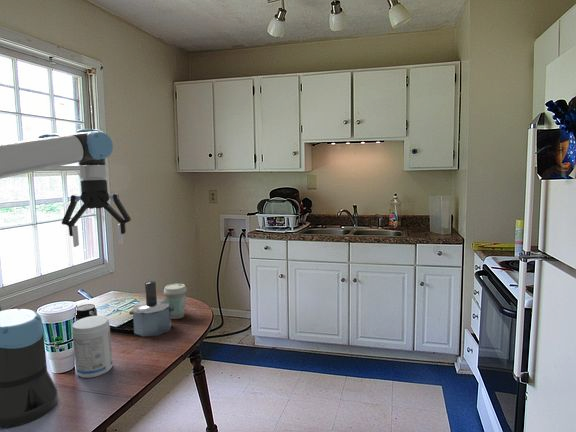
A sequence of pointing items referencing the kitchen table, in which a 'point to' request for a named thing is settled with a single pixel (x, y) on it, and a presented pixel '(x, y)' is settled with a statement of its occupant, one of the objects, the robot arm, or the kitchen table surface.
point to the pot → (152, 322)
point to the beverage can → (86, 311)
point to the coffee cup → (176, 299)
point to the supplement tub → (92, 346)
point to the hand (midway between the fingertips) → (98, 245)
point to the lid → (151, 301)
